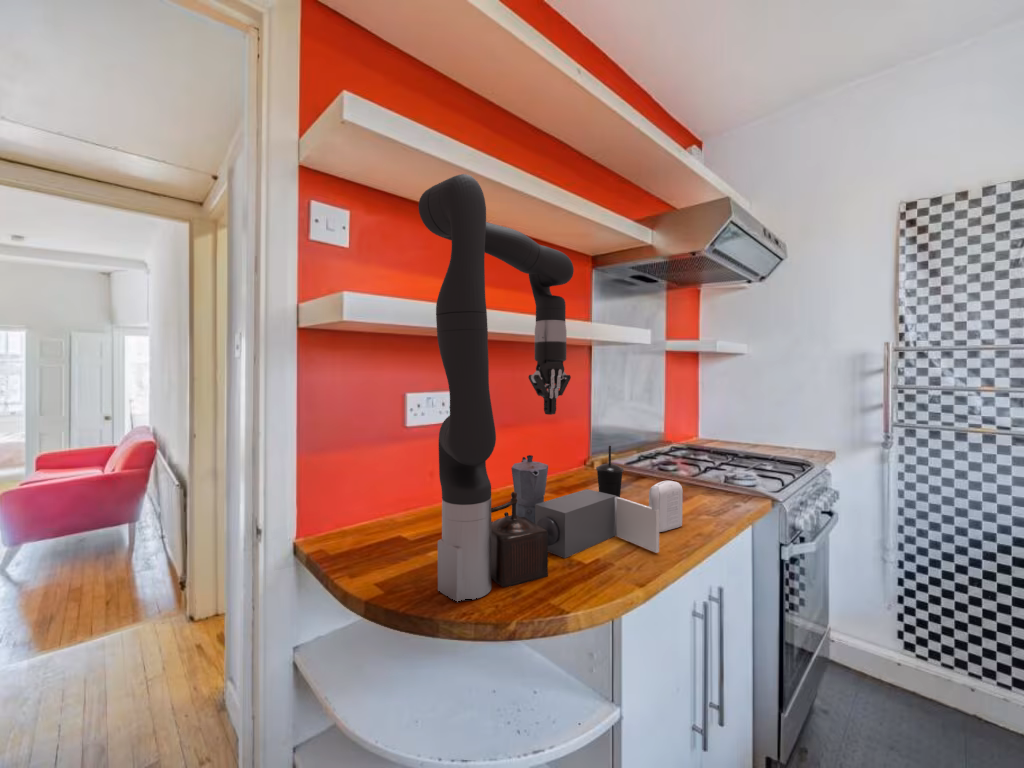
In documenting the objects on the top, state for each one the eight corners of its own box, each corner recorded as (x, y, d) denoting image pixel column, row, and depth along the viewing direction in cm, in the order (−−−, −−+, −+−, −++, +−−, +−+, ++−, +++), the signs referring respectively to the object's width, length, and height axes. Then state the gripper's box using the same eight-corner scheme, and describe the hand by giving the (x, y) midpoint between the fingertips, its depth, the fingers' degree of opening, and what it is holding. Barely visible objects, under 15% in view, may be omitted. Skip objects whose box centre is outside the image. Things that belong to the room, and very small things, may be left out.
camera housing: (561, 560, 96) (561, 514, 96) (531, 548, 102) (531, 505, 102) (616, 535, 111) (616, 495, 110) (586, 526, 117) (587, 489, 117)
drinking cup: (621, 511, 130) (621, 443, 129) (625, 520, 122) (625, 448, 122) (594, 511, 130) (595, 443, 130) (597, 519, 123) (597, 447, 122)
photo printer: (671, 522, 121) (671, 477, 120) (684, 526, 117) (685, 480, 117) (645, 529, 115) (646, 482, 115) (659, 534, 111) (659, 485, 111)
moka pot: (519, 544, 105) (519, 460, 104) (503, 523, 119) (502, 450, 119) (556, 540, 107) (556, 458, 107) (536, 520, 122) (536, 448, 122)
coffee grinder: (522, 556, 98) (522, 475, 98) (549, 576, 88) (549, 487, 88) (456, 571, 91) (456, 484, 90) (478, 595, 81) (477, 497, 80)
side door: (660, 551, 99) (661, 487, 99) (656, 552, 99) (656, 488, 98) (618, 533, 110) (618, 476, 110) (613, 535, 110) (614, 476, 109)
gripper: (543, 338, 97) (542, 417, 97) (580, 341, 106) (580, 413, 107) (519, 340, 102) (519, 414, 103) (556, 343, 112) (556, 411, 112)
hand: (550, 414), depth 105 cm, fingers closed
